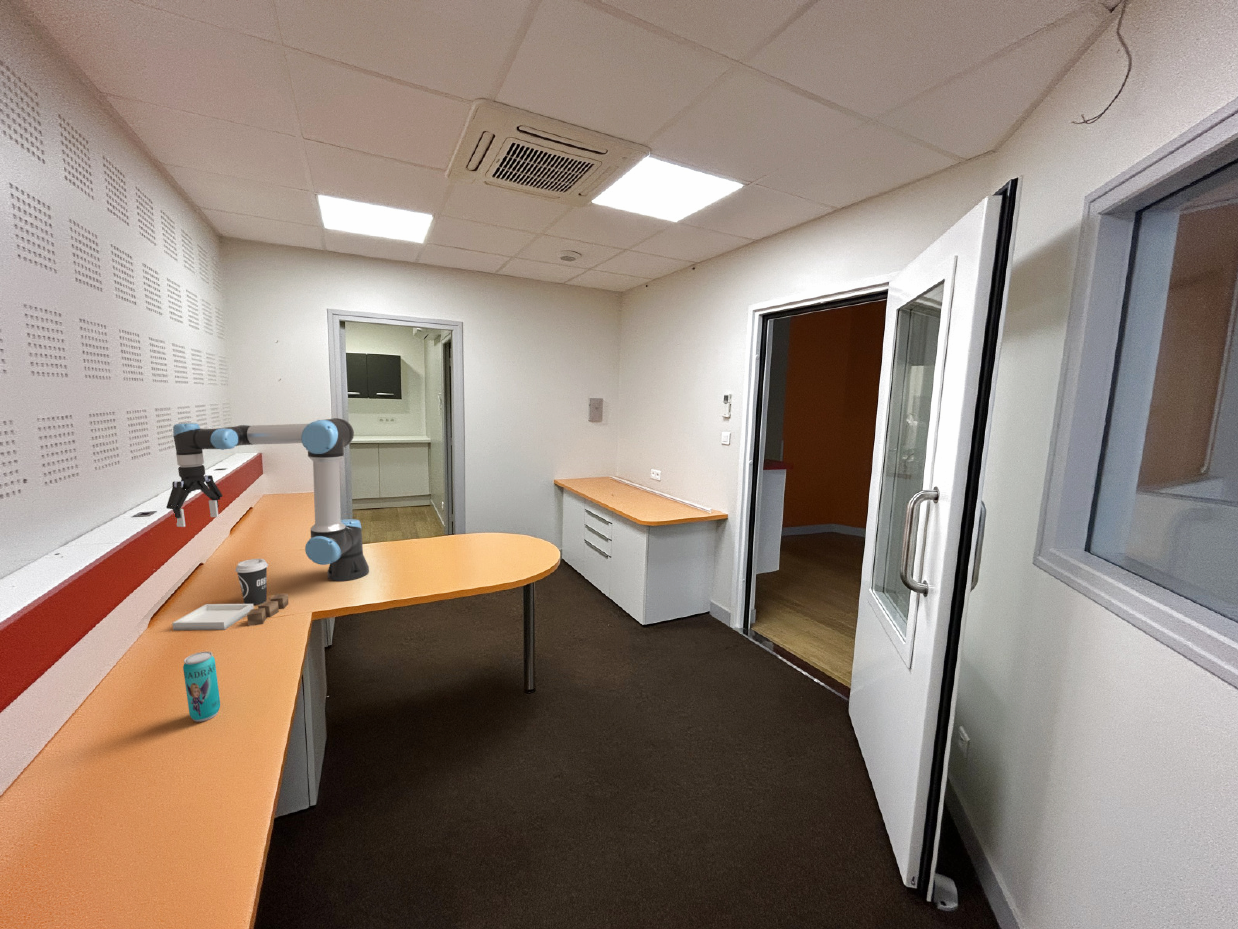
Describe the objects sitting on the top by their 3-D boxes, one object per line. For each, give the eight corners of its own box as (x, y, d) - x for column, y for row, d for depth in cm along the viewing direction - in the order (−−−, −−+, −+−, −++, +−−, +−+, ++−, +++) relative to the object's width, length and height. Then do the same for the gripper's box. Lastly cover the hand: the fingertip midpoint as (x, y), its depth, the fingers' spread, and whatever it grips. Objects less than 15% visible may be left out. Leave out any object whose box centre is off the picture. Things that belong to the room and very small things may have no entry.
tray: (253, 610, 179) (253, 603, 178) (224, 629, 165) (223, 622, 164) (206, 611, 178) (205, 604, 178) (173, 630, 164) (172, 622, 164)
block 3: (288, 604, 184) (287, 593, 183) (283, 609, 180) (282, 598, 180) (276, 605, 183) (275, 594, 183) (271, 610, 179) (269, 599, 179)
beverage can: (186, 726, 118) (178, 665, 116) (195, 712, 124) (187, 653, 121) (217, 720, 121) (209, 660, 118) (224, 706, 126) (217, 648, 123)
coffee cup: (255, 609, 180) (250, 568, 177) (232, 606, 182) (227, 565, 179) (278, 598, 189) (274, 558, 187) (256, 595, 191) (252, 557, 189)
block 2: (278, 612, 178) (277, 601, 177) (270, 617, 174) (269, 606, 173) (267, 611, 178) (266, 600, 177) (259, 617, 174) (257, 605, 173)
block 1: (266, 619, 172) (264, 607, 172) (262, 624, 169) (261, 612, 168) (251, 621, 171) (250, 609, 170) (248, 626, 167) (247, 614, 167)
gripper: (212, 460, 202) (218, 513, 205) (147, 470, 178) (156, 530, 181) (229, 460, 201) (235, 513, 205) (167, 471, 177) (175, 531, 180)
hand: (198, 521), depth 193 cm, fingers open, 13 cm apart
